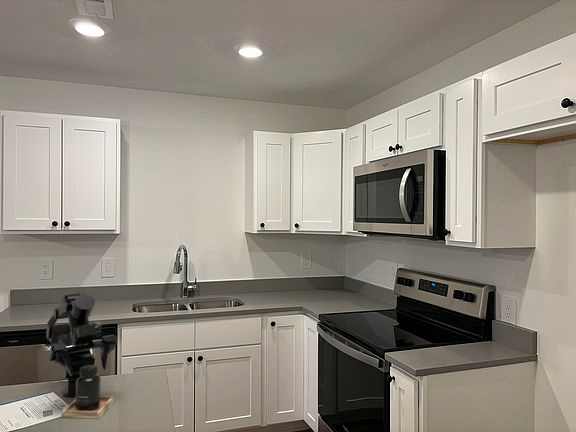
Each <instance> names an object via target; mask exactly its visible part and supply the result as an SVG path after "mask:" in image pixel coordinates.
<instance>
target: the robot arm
mask: <svg viewBox="0 0 576 432" xmlns="http://www.w3.org/2000/svg"><path fill="white" fill-rule="evenodd" d="M95 303H96V300H95V298H94V297H93V296H91V295H89V294H87V292H86V291H82V292H79V293H69V294H64V295H63V297H62V298H61V300H60V305H59V306H58V307H56V308H54V309H53V314H52V316H51V317H50V319H49V320H48V321H47V322H46V323H47V324H46V339H47V340H48V341H49V342H50V343H51V344H52V345H51V346H50V349H49V352H48V357H49V361H50V362H54V363H57V364H60V365H61V375H62V376H63V378H64V379H65V380H66V379H67V390H66V391H65V392H64V393H63V394H62V397H75V398H76V380H77V378H78V377H80V368H81V367H83V366H87V365H95V362H96V358H95V356H94V354H93V353H92V352H91V350H93V349H98V348H99V349H100V358H101V365H102V369H103V370H104V371H105V370H106V369H107V363H108V362H107V361H108V355H109V354H111V352H112V351H114V349H115V347H116V346H117V343H118V337H117V336H116V335H114V334H109V335H103V336H102V337H101V340H98V341H94V340H96V335H97V334H98V333H101V332H102V330H103V328H102V322H101V321H99V320H98V321H94V322H93V323H92V324H90V318H89V317H91V315H92V311H93V309H94V306H95ZM62 319H68V322H67V323H62V324H61V323H60V324H56V323H57V321H58V320H62Z"/></svg>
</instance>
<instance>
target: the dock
mask: <svg viewBox="0 0 576 432" xmlns="http://www.w3.org/2000/svg"><path fill="white" fill-rule="evenodd" d="M114 403H115V396H114V395H100V406H99V407H98V408H97V409H95V410H92V411H78V410H77V409H76V398H74V400H73V401H71V402H70V403H69V404H68V405H67V406H66V407H65V408H64V409H62V410H61V411H60V413H61V419H62V418H63V419H99V420H100V419H101V417H102V416H103V415H105V413H106V412H107V411H108V410H109V409H110V407H112V405H113V404H114Z"/></svg>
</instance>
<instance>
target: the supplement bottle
mask: <svg viewBox="0 0 576 432" xmlns="http://www.w3.org/2000/svg"><path fill="white" fill-rule="evenodd" d="M101 381H102V380H101V375H99V374H98V366H97V365H95V364H94V365H87V366H83V367H81V368H80V377H78V378H77V380H76V397H75V399H76V409H77V410H78V411H92V410H95V409H97V408H98V407H99V406H100V396H101V390H102V389H101V386H102V385H101Z"/></svg>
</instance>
